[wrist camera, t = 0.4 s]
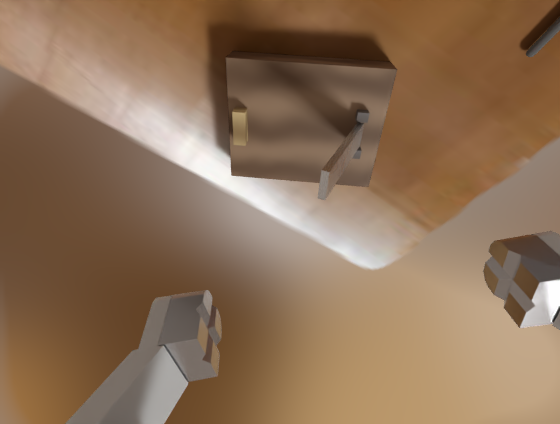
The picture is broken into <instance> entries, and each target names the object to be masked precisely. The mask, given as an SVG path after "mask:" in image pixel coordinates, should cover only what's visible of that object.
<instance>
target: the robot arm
mask: <svg viewBox="0 0 560 424" xmlns="http://www.w3.org/2000/svg"><path fill="white" fill-rule="evenodd" d="M489 253H490V254H491V255H492V257H491V258H490V259H489V260H488V261H487V262H486V263H485V266H484V271H483V272H484V277H485V281H486V283H487V285H488V288H489V289H490V290H491V292H492V293H493V294H494V295H496V296H497V297H499V298H501V299H503V300H504V309H505V310H506V311H507V312H508V314H509V315H510V316H511V318H512V319H513V320H514V321H515V323H516V324H517V325H518V327H519V328H524V327H531V326H539V325H546V324H553V326H554V327H556V328H557V329H559V330H560V235H559V234H557V233H555V232H552V231H549V232H542V233H537V234H531V235H525V236H520V237H514V238H508V239H503V240H497V241H494V242H493V243H492V244H491V245H490V248H489ZM220 340H221V320H220V316H219V312H218V310H217V308H216V307H214V306H213V305H212V296H211V294H210V292H209V291H207V290H205V291H198V292H191V293H184V294H177V295H172V296H166V297H159V298H156V299H155V300H154V302H153V303H152V306H151V310H150V313H149V316H148V319H147V322H146V326H145V329H144V332H143V336H142V339H141V342H140V345H139V348H138V350H133V351H132V352H131V353H130V354H129V355H128V356H127V357H126V359H125V360H124V361H123V362H122V363H121V364H120V365H119V366H118V367H117V368H116V369H115V370H114V371H113V373H112V374H111V375H110V376H109V377H108V378H107V379H106V380H105V381H104V382H103V384H102V385H101V386H100V387H99V388H98V389H97V390H96V391H95V392H94V393H93V394H92V395H91V396H90V397H89V399H88V400H87V401H86V402H85V403H84V404H83V405H82V406H81V407H80V408H79V409H78V410H77V412H76V413H75V414H74V415H73V416H72V417H71V418H70V419H69V420H68V421H67V422H66V423H65V424H164V423H165V421H166V419H167V418H168V416H169V415H170V413H171V411H172V409H173V408H174V406H175V405H176V403H177V401H178V400H179V398H180V396H181V395H182V393H183V392H184V390H185V388H186V387H187V385H188V382H189V381H194V380H199V379H205V378H210V377H216V376H218V366H219V352H218V349H217V347H216V345H217V343H218V342H219V341H220Z"/></svg>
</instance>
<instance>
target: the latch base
mask: <svg viewBox="0 0 560 424" xmlns="http://www.w3.org/2000/svg"><path fill="white" fill-rule="evenodd" d="M396 72H397V69H396V68H395V66H394V65H393V64H392V63H391V62H386V61H371V60H356V59H342V58H327V57H312V56H298V55H283V54H269V53H254V52H239V51H232V52H231V53H230V54H229V55H228V56H227V57H226V73H227V93H228V114H229V135H230V155H231V176H243V177H255V178H267V179H278V180H290V181H302V182H314V183H320V178H321V170H322V169H323V168H324V166H325V165H326V164H327V162H328V161H329V160H330V158H331V157H332V156H333V154H334V153H335V152H336V150H337V149H338V148H339V146H340V145H341V144H342V142H343V141H344V140H345V139H346V137H347V136H348V135H349V133H350V132H351V131H352V129H353V128H354V127H355V125H356V124H357V122H362V123H364V128H363V133H362V138H361V143H360V147H359V148H358V150H357V151H356V153H355V154H354V156H353V157H352V159H351V161H350V162H349V164H348V165H347V167H346V168H345V170H344V172H343V173H342V175H341V176H340V178H339V179H338V181H337V183H336V184H338V185H350V186H362V187H369V183H370V179H371V174H372V170H373V166H374V162H375V158H376V154H377V150H378V146H379V142H380V138H381V134H382V129H383V125H384V121H385V117H386V113H387V109H388V105H389V101H390V97H391V93H392V88H393V84H394V80H395V76H396Z"/></svg>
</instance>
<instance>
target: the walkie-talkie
mask: <svg viewBox="0 0 560 424" xmlns="http://www.w3.org/2000/svg"><path fill="white" fill-rule="evenodd" d="M559 30H560V17H559V18H558V19H557V20H556V21H555V22H554V23H553V24H552V25H551V26H550V27H549V28H548V29H547V31H546V32H545V33H544V34H543V35H542V36H541V37H540V38H539V39H538V40H537V41H536V42H535V43H534V44H533V45H532V46H531V47H530V48H529V49H528V51H527V52H526V55H527V56H528V57H532V56H534V55H535V54H536V53H537V52H538V51H539V50H540V49H541V48H542V47H543V46H544V45H545V44H546V43H547V42H548V41H549V40H550V39H551V38H552V37H553V36H554V35H555V34H556V33H557V32H558V31H559Z"/></svg>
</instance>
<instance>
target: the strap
mask: <svg viewBox="0 0 560 424" xmlns="http://www.w3.org/2000/svg"><path fill="white" fill-rule="evenodd" d="M363 128H364V123H362V122H357V124H356V125H355V127H354V128H353V129H352V131H351V132H350V133H349V135H348V136H347V137H346V139H345V140H344V141H343V142H342V144H341V145H340V146H339V148H338V149H337V150H336V152H335V153H334V154H333V156H332V157H331V158H330V160H329V161H328V162H327V164H326V165H325V166H324V168H323V169H322V170H321V178H320V185H319V192H318V198H319V199H323V200H326V198H327V197H328V195H329V194H330V192H331V190H332V189H333V187H334V186H335V184H336V183H337V181H338V179H339V178H340V176H341V175H342V173H343V172H344V170H345V168H346V167H347V165H348V164H349V162H350V161H351V159H352V157H353V156H354V154H355V153H356V151H357V150H358V148H359V147H360V143H361V138H362V133H363Z"/></svg>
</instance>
